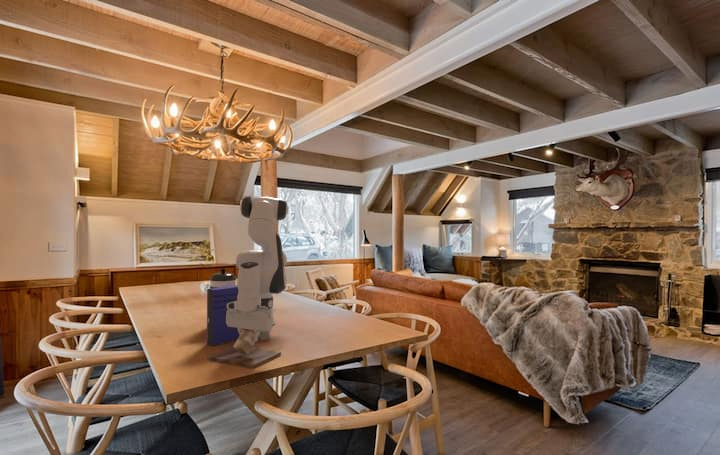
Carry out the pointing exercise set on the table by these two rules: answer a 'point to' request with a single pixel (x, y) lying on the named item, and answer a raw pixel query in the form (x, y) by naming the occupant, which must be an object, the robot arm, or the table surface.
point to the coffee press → (222, 279)
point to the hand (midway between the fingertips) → (248, 340)
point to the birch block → (245, 341)
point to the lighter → (264, 335)
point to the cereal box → (220, 315)
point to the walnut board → (244, 357)
